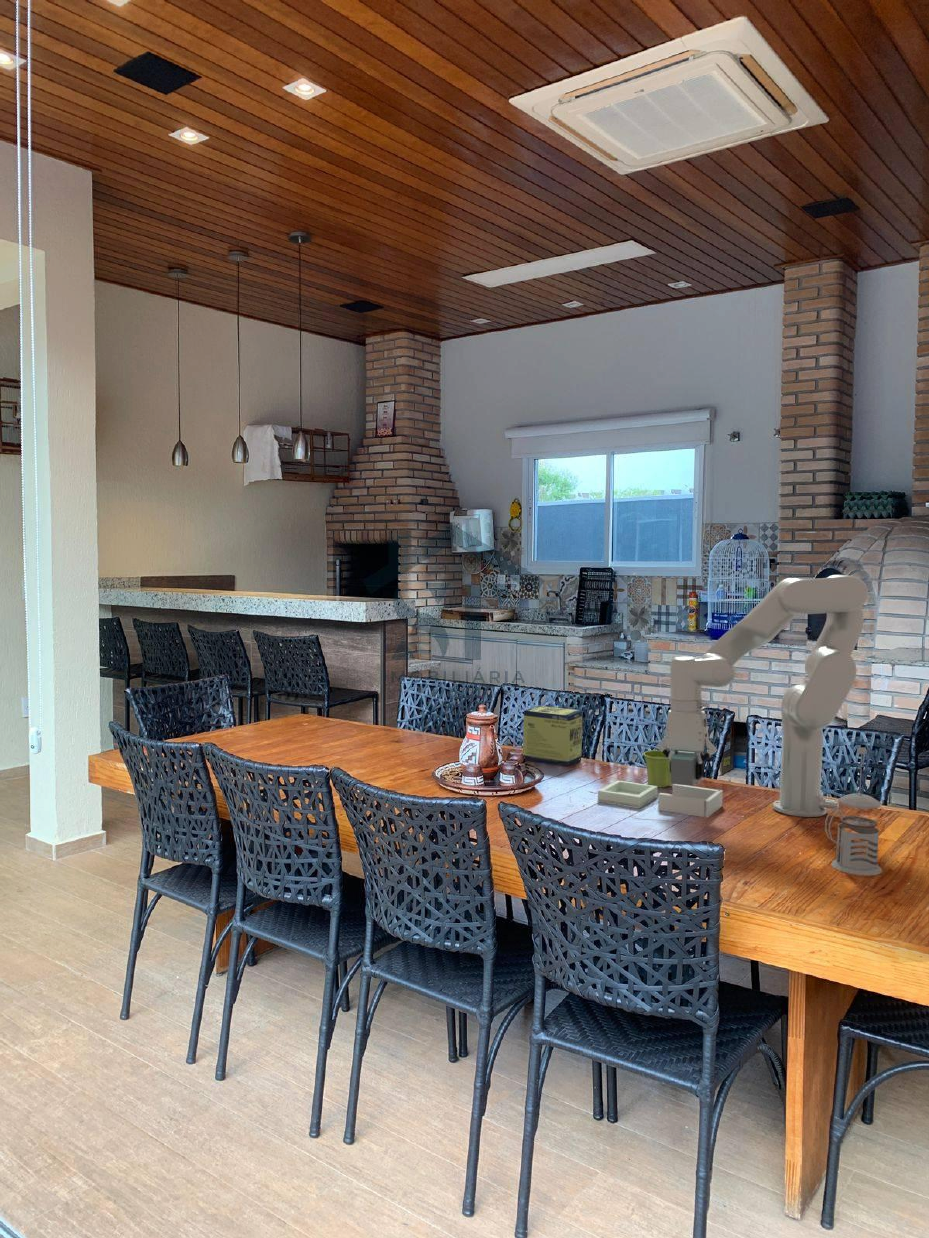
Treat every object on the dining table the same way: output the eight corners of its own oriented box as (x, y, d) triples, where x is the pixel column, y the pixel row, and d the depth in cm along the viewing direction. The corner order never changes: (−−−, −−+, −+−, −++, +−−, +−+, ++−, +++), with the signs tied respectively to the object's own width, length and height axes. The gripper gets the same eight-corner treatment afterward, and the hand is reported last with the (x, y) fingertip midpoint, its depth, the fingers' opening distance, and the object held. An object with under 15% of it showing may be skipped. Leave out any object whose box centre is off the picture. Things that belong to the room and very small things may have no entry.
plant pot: (677, 790, 252) (678, 758, 251) (642, 788, 254) (643, 756, 253) (676, 781, 261) (677, 751, 261) (642, 779, 263) (643, 749, 262)
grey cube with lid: (702, 778, 237) (701, 751, 237) (692, 785, 231) (692, 757, 230) (681, 776, 240) (680, 749, 240) (670, 783, 233) (670, 755, 233)
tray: (657, 796, 245) (657, 786, 245) (639, 808, 234) (639, 797, 234) (616, 790, 251) (617, 780, 251) (597, 801, 240) (598, 790, 239)
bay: (722, 805, 237) (722, 790, 237) (707, 817, 226) (708, 801, 226) (674, 798, 243) (674, 783, 243) (658, 809, 233) (658, 793, 232)
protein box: (568, 766, 278) (569, 715, 277) (521, 760, 286) (522, 709, 284) (582, 760, 287) (583, 710, 286) (536, 753, 295) (537, 705, 293)
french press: (892, 875, 188) (898, 752, 186) (836, 875, 187) (842, 752, 185) (867, 858, 197) (872, 742, 196) (814, 859, 197) (819, 742, 195)
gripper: (724, 705, 233) (724, 777, 234) (658, 701, 242) (658, 770, 243) (715, 710, 226) (716, 784, 228) (648, 706, 235) (648, 776, 237)
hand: (686, 776), depth 235 cm, fingers closed on grey cube with lid, 5 cm apart
